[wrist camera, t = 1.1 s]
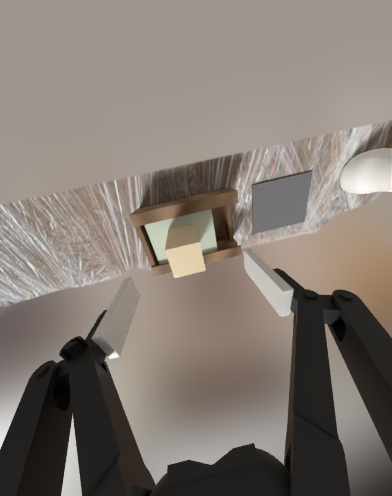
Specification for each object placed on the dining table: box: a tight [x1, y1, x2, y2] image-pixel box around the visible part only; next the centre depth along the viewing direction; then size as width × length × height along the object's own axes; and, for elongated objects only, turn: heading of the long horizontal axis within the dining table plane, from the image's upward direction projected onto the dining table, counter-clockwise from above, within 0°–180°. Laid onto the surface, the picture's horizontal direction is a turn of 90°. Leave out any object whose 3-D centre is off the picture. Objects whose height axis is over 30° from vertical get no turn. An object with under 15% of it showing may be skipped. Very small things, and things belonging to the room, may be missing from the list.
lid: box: [145, 209, 218, 278], centre depth 22 cm, size 12×10×10 cm
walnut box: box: [129, 188, 241, 276], centre depth 28 cm, size 18×12×7 cm
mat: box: [252, 172, 312, 234], centre depth 32 cm, size 13×11×1 cm
